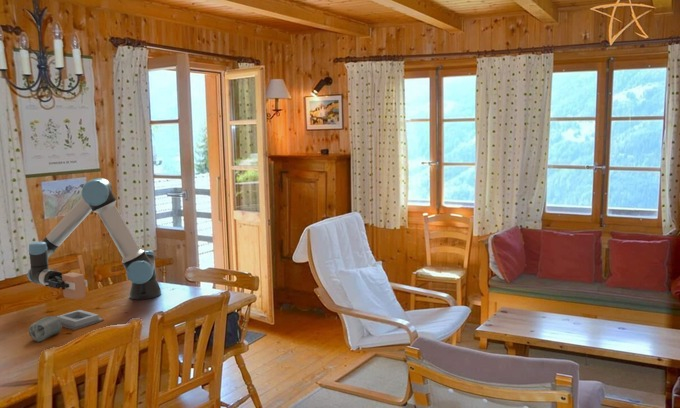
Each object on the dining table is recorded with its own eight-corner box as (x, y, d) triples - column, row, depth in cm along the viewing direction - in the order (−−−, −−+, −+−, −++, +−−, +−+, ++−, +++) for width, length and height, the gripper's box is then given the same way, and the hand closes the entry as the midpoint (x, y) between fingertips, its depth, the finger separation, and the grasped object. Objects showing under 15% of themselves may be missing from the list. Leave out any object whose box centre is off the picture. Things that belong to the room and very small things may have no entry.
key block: (74, 294, 263) (72, 272, 262) (85, 296, 258) (83, 274, 257) (63, 296, 259) (61, 274, 258) (75, 299, 254) (73, 277, 253)
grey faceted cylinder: (43, 337, 232) (36, 313, 235) (26, 346, 235) (20, 323, 238) (70, 334, 245) (64, 311, 248) (54, 342, 248) (48, 320, 250)
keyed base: (81, 314, 271) (81, 308, 270) (103, 320, 261) (102, 314, 261) (52, 323, 260) (51, 316, 259) (73, 330, 250) (73, 323, 249)
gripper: (71, 281, 276) (100, 288, 263) (32, 291, 262) (61, 298, 248) (69, 266, 275) (98, 272, 262) (31, 274, 261) (59, 281, 247)
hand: (80, 285), depth 255 cm, fingers closed on key block, 5 cm apart
